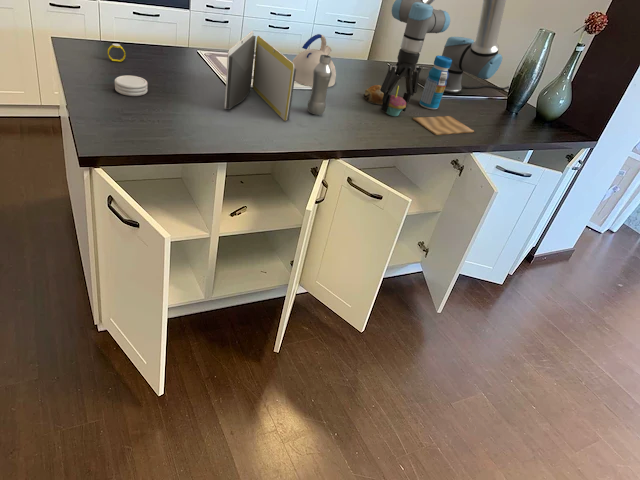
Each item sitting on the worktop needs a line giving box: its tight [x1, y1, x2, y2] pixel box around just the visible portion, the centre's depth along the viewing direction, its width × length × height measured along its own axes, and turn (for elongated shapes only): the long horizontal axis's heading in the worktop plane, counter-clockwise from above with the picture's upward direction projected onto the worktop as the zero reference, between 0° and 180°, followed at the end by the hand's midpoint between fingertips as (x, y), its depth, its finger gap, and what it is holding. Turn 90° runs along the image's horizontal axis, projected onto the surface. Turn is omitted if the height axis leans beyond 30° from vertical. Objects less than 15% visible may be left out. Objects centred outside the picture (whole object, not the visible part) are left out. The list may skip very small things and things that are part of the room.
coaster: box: [114, 75, 149, 97], centre depth 155 cm, size 10×10×4 cm
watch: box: [107, 43, 127, 63], centre depth 174 cm, size 6×3×6 cm, turn 114°
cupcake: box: [386, 83, 408, 117], centre depth 181 cm, size 9×8×12 cm
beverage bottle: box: [419, 55, 452, 111], centre depth 194 cm, size 8×8×20 cm
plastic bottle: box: [307, 55, 332, 116], centre depth 165 cm, size 6×7×20 cm
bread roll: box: [363, 84, 384, 106], centre depth 192 cm, size 10×10×8 cm
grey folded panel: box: [224, 30, 296, 122], centre depth 161 cm, size 35×22×20 cm, turn 30°
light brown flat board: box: [412, 115, 475, 136], centre depth 184 cm, size 20×14×1 cm
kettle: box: [291, 33, 337, 88], centre depth 196 cm, size 20×21×18 cm
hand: (393, 110), depth 184 cm, fingers closed on cupcake, 8 cm apart
